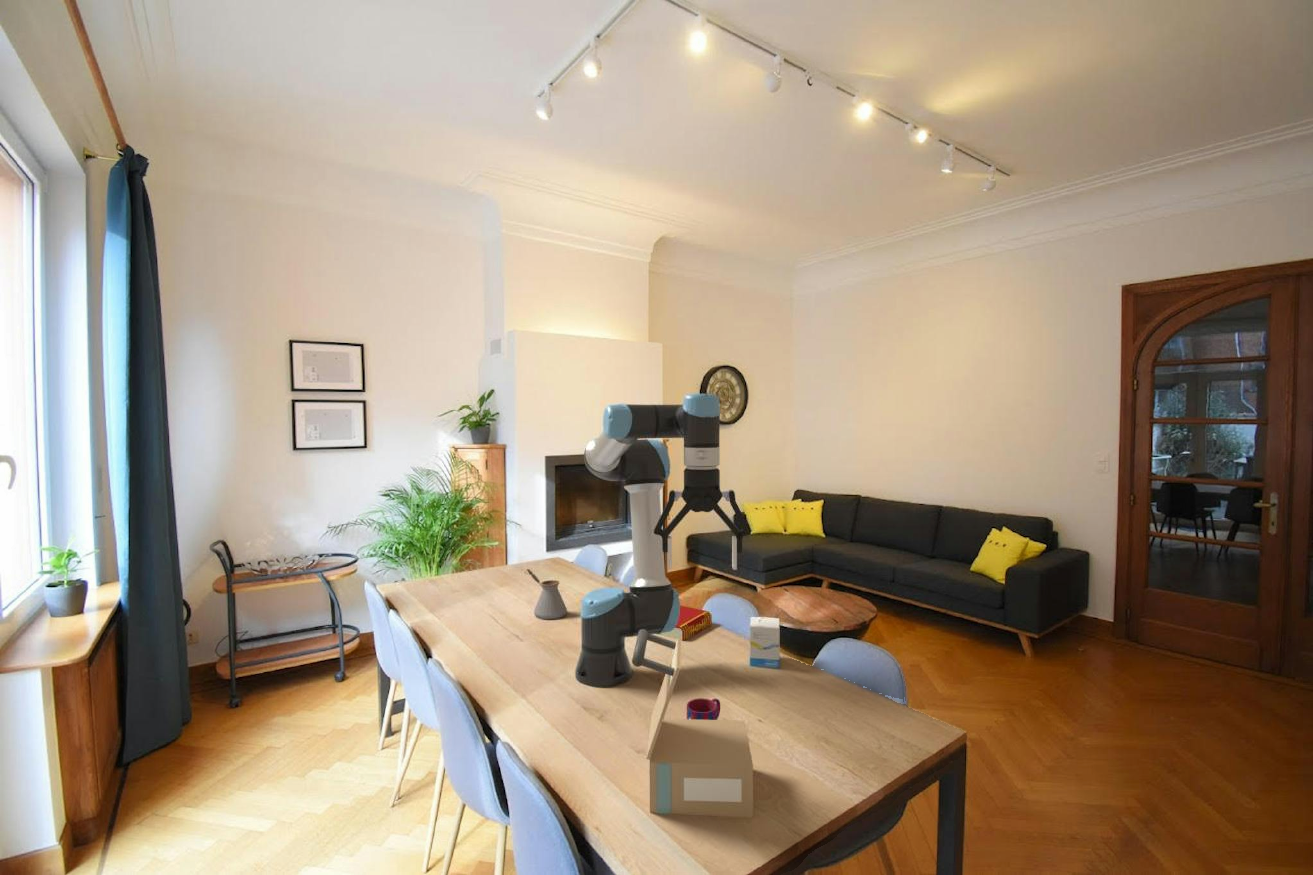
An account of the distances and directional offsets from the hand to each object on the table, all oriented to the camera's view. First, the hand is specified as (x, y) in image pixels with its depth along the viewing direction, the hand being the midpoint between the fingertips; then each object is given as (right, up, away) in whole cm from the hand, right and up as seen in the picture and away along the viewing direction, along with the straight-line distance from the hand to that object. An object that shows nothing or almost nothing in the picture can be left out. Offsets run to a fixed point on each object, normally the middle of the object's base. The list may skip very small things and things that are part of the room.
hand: (702, 567), depth 123 cm
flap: (-8, -21, -14) cm, 26 cm away
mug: (+2, -39, +7) cm, 39 cm away
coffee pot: (-50, -37, +86) cm, 106 cm away
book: (-1, -37, +71) cm, 80 cm away
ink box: (+22, -37, +45) cm, 63 cm away
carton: (-1, -39, -14) cm, 41 cm away
